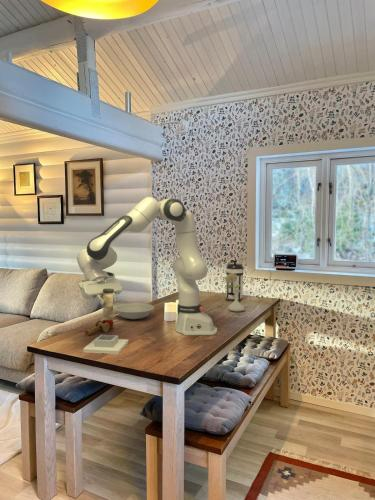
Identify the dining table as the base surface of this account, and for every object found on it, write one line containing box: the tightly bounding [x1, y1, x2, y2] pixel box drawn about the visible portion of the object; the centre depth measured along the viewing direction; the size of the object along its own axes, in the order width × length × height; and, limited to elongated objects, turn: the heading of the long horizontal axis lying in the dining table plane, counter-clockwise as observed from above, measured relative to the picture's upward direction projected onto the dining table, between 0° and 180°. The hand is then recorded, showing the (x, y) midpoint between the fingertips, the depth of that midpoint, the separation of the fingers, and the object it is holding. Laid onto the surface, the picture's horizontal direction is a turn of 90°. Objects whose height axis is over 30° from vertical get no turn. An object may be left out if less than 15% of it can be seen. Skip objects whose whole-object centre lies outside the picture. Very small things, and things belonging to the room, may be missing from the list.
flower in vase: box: [225, 273, 246, 313], centre depth 245 cm, size 13×11×25 cm
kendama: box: [84, 319, 114, 337], centre depth 196 cm, size 8×6×18 cm
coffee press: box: [225, 259, 245, 303], centre depth 277 cm, size 17×16×30 cm
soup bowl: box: [113, 302, 155, 320], centre depth 224 cm, size 24×24×7 cm
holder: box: [82, 334, 129, 355], centre depth 171 cm, size 16×16×4 cm
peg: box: [102, 289, 114, 320], centre depth 169 cm, size 5×5×13 cm
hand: (109, 302), depth 169 cm, fingers closed on peg, 4 cm apart
